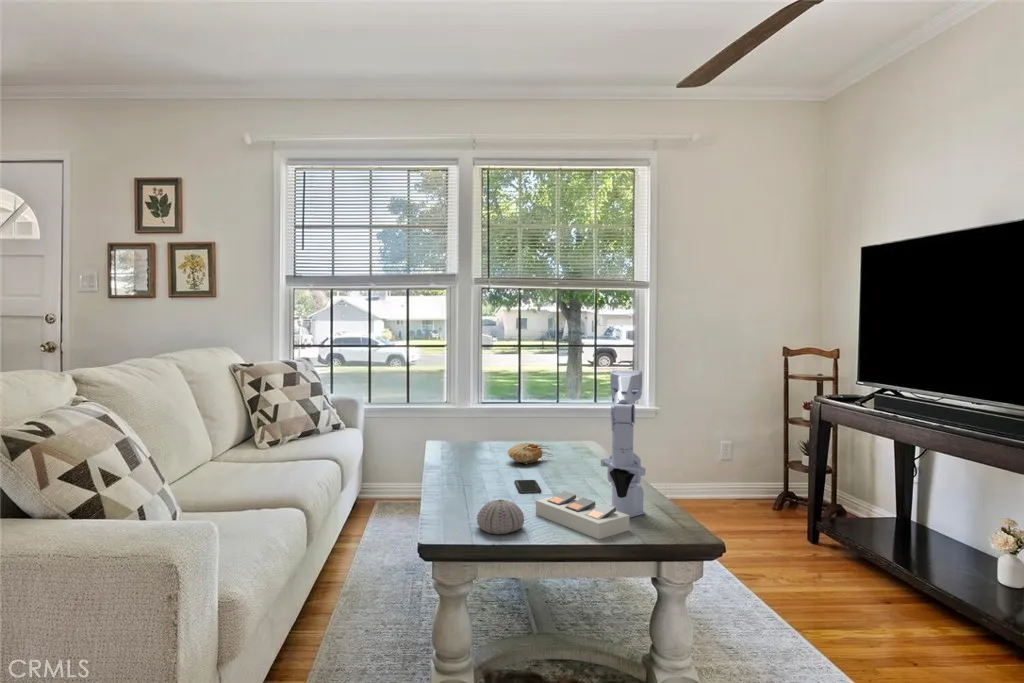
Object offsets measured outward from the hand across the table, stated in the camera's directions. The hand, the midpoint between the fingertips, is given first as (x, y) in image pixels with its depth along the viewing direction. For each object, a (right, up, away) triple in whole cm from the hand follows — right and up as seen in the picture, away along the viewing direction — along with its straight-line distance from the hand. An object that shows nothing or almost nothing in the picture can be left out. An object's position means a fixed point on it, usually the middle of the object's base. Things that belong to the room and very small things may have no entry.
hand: (621, 496), depth 162 cm
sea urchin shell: (-33, -9, +1) cm, 35 cm away
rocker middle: (-10, -5, +7) cm, 14 cm away
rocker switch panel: (-10, -9, +7) cm, 16 cm away
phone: (-25, -9, +44) cm, 51 cm away
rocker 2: (-6, -5, +1) cm, 8 cm away
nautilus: (-22, -8, +84) cm, 87 cm away
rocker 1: (-15, -5, +14) cm, 21 cm away
